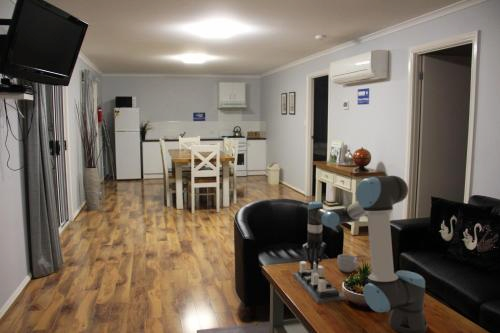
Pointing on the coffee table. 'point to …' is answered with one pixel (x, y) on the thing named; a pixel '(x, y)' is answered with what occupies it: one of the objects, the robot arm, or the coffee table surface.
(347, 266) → the teacup
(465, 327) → the coffee table surface
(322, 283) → the breaker handle
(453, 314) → the coffee table surface
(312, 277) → the breaker handle
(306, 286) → the panel
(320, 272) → the breaker handle
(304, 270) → the breaker handle
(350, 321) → the coffee table surface
